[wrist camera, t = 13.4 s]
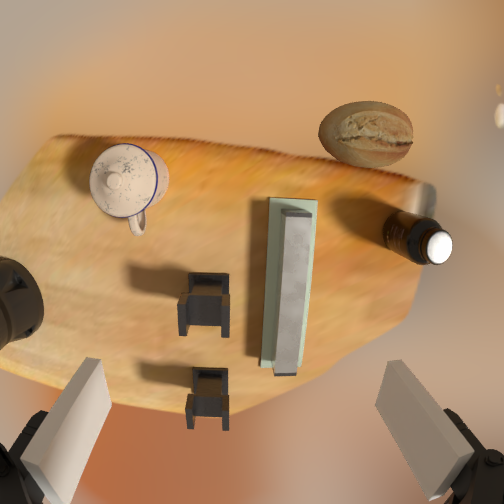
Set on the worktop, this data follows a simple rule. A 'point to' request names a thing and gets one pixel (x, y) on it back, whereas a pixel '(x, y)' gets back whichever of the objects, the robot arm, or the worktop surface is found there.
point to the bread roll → (366, 134)
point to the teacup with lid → (128, 183)
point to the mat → (272, 271)
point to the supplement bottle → (417, 238)
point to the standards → (218, 314)
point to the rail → (290, 289)
